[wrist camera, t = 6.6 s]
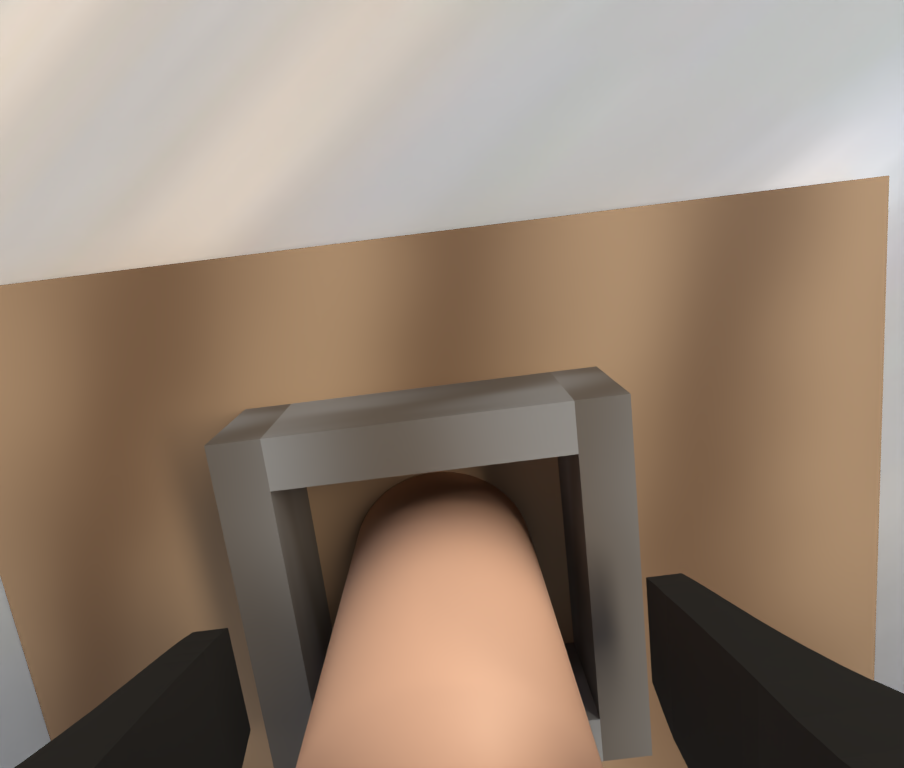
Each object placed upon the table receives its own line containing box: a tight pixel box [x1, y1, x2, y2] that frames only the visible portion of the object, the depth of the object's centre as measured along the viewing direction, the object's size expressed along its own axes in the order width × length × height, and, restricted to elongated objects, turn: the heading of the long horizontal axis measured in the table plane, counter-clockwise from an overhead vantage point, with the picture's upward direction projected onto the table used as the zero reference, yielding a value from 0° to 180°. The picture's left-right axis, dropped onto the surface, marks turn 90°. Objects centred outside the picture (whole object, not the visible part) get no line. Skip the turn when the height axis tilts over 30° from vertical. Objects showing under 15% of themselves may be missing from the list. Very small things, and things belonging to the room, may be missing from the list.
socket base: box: [0, 176, 889, 768], centre depth 14 cm, size 20×14×4 cm
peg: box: [296, 472, 603, 768], centre depth 11 cm, size 4×4×7 cm
